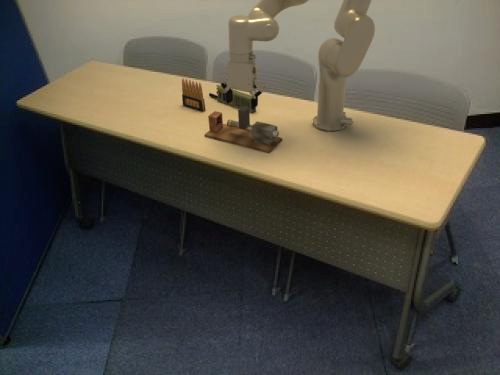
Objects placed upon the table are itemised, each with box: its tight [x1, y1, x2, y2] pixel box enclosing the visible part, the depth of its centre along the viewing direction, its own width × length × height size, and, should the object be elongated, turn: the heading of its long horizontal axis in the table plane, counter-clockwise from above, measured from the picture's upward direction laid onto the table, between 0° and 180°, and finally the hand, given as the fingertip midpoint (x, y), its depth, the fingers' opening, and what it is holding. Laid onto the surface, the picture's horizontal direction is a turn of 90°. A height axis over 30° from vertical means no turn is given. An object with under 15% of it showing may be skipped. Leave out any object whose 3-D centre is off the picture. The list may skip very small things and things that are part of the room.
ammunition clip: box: [181, 77, 206, 113], centre depth 190 cm, size 11×2×12 cm, turn 54°
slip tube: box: [226, 106, 280, 138], centre depth 166 cm, size 20×4×8 cm, turn 61°
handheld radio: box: [208, 84, 257, 115], centre depth 194 cm, size 7×3×25 cm
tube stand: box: [204, 110, 283, 154], centre depth 170 cm, size 26×10×7 cm, turn 61°
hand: (241, 104), depth 164 cm, fingers open, 9 cm apart
